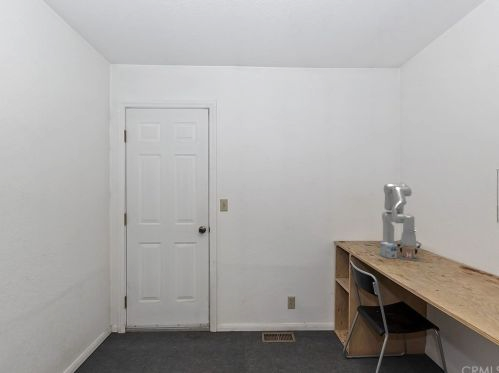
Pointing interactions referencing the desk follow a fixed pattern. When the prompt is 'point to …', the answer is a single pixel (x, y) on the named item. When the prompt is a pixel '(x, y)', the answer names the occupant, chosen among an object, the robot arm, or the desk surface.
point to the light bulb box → (388, 250)
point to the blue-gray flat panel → (408, 259)
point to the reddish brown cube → (409, 254)
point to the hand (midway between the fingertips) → (408, 253)
